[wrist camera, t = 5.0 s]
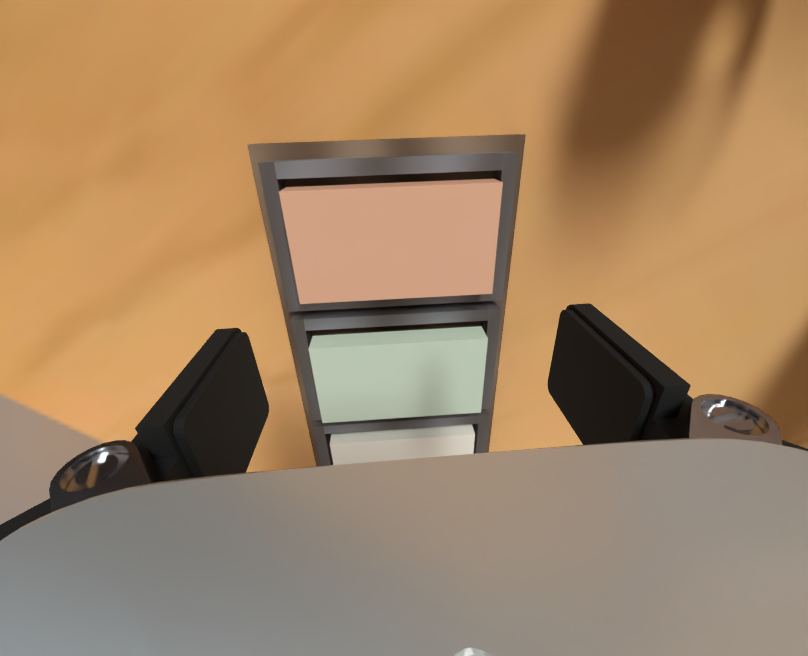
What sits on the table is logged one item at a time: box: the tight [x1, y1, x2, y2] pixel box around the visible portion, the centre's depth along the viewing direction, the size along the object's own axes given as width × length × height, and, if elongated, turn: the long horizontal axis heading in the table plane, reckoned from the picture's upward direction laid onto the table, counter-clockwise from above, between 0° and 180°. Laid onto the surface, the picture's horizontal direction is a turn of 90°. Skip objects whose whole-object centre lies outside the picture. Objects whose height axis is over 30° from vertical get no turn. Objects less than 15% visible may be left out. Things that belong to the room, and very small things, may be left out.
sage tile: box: [309, 326, 488, 423], centre depth 24 cm, size 11×6×2 cm, turn 92°
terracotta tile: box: [279, 179, 503, 304], centre depth 20 cm, size 11×6×2 cm, turn 92°
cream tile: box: [330, 424, 475, 465], centre depth 29 cm, size 11×6×2 cm, turn 92°
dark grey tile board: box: [248, 134, 525, 467], centre depth 26 cm, size 15×28×3 cm, turn 2°
